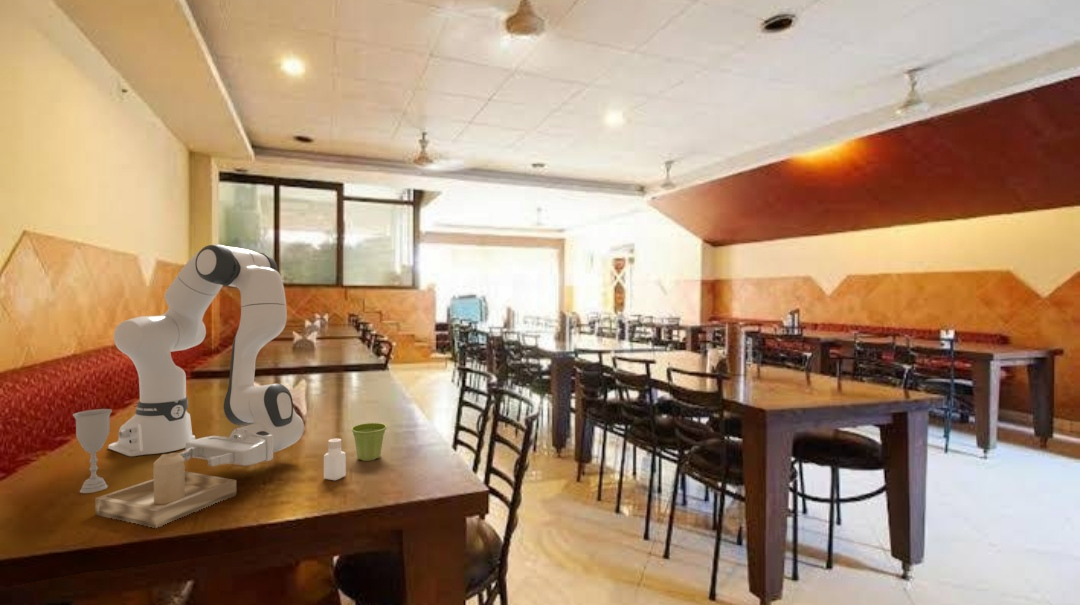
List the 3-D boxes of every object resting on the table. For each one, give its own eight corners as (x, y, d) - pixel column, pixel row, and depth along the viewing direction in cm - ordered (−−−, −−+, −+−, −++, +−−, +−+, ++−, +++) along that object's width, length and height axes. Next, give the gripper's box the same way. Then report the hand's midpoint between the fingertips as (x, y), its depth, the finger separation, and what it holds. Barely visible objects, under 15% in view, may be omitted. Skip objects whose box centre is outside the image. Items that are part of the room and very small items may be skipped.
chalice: (93, 482, 127) (92, 408, 126) (121, 483, 126) (120, 409, 126) (65, 494, 119) (64, 416, 119) (94, 495, 119) (93, 416, 119)
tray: (95, 514, 109) (95, 498, 109) (180, 484, 126) (180, 470, 126) (155, 528, 103) (155, 511, 103) (236, 495, 120) (236, 480, 120)
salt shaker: (335, 481, 129) (335, 443, 129) (322, 479, 130) (322, 441, 130) (346, 476, 133) (346, 438, 133) (334, 474, 134) (334, 437, 134)
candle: (168, 505, 111) (168, 459, 111) (147, 503, 112) (146, 457, 112) (190, 496, 117) (190, 451, 117) (170, 493, 118) (169, 449, 118)
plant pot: (386, 461, 144) (386, 430, 144) (350, 464, 142) (350, 432, 141) (386, 451, 153) (386, 422, 153) (352, 454, 151) (352, 424, 150)
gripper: (216, 427, 136) (162, 441, 123) (277, 435, 130) (227, 451, 116) (216, 451, 137) (163, 468, 124) (277, 460, 130) (227, 479, 117)
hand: (194, 460), depth 120 cm, fingers open, 8 cm apart
